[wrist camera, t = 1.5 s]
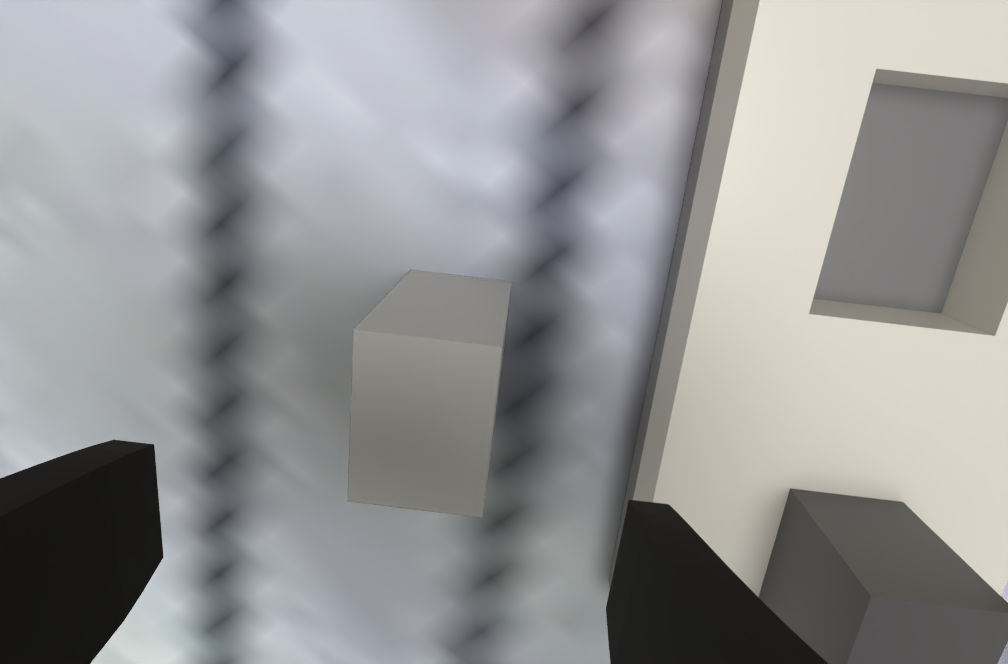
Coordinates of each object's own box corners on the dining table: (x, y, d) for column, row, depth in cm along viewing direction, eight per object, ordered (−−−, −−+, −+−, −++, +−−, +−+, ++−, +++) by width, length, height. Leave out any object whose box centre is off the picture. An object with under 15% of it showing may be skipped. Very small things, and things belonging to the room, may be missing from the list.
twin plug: (859, 622, 17) (953, 759, 13) (754, 609, 17) (818, 742, 13) (902, 502, 16) (1019, 614, 12) (790, 488, 16) (871, 596, 12)
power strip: (899, 615, 21) (965, 700, 17) (608, 580, 21) (622, 658, 18) (1119, 40, 15) (1272, 13, 12) (723, -5, 15) (773, -44, 12)
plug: (497, 404, 19) (482, 517, 13) (402, 393, 19) (347, 501, 13) (511, 281, 18) (502, 346, 12) (410, 269, 18) (353, 329, 12)
